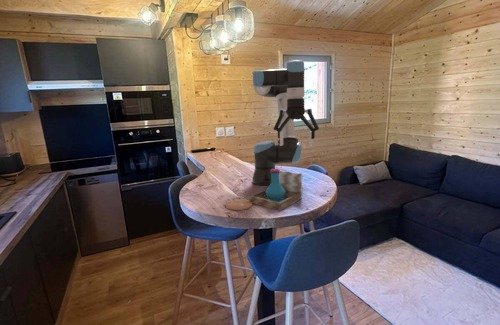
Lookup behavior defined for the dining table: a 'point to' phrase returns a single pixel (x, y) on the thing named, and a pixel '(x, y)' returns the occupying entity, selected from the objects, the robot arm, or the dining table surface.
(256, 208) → the dining table surface
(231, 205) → the saucer
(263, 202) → the frame
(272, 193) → the perfume bottle
